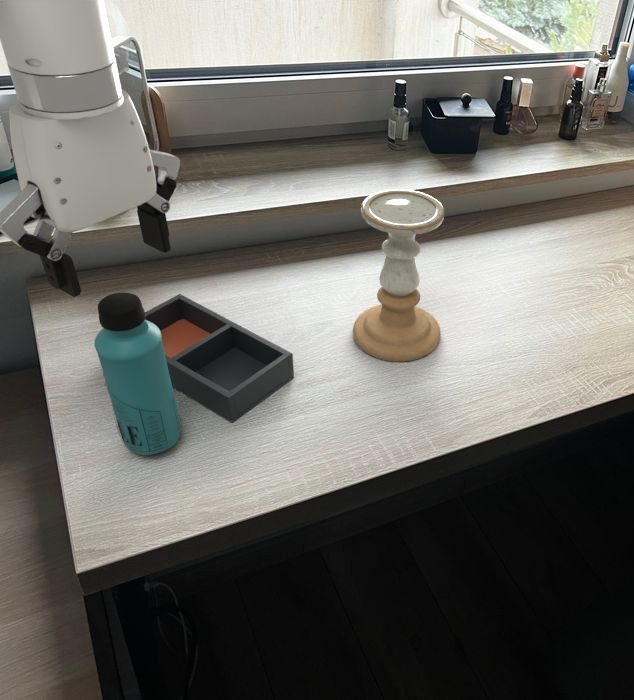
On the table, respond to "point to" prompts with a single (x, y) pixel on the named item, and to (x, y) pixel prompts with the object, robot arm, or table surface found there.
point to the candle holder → (399, 278)
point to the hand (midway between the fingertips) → (114, 267)
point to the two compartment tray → (218, 358)
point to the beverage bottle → (136, 375)
